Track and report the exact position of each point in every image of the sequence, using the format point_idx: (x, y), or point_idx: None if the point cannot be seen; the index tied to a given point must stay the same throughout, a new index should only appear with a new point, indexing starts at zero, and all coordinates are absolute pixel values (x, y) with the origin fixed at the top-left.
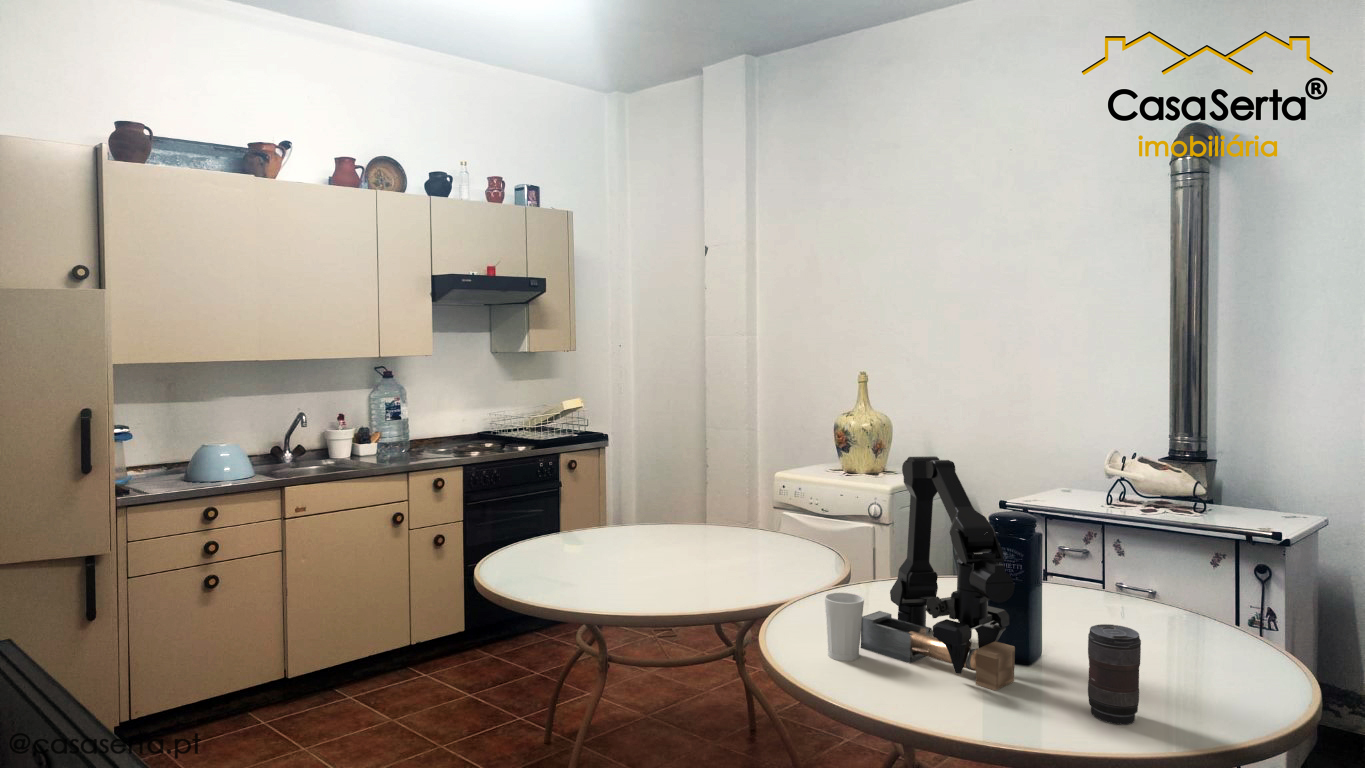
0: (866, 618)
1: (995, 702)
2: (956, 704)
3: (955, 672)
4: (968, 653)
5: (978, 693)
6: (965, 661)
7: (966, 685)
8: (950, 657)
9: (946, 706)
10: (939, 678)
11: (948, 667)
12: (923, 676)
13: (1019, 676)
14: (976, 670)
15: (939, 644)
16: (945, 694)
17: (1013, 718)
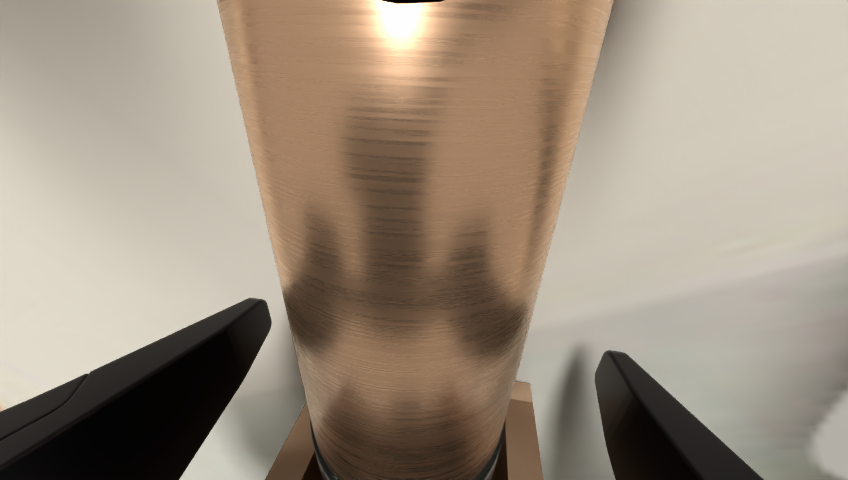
0: None
1: (251, 430)
2: (107, 351)
3: (252, 299)
4: (319, 456)
5: (261, 379)
6: (203, 437)
7: (287, 324)
8: (103, 366)
9: (59, 333)
10: (232, 182)
11: None
12: (154, 78)
13: (603, 456)
14: (297, 423)
15: (244, 84)
16: (121, 293)
17: (209, 472)
